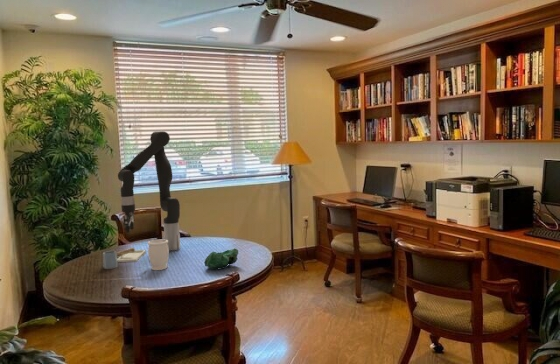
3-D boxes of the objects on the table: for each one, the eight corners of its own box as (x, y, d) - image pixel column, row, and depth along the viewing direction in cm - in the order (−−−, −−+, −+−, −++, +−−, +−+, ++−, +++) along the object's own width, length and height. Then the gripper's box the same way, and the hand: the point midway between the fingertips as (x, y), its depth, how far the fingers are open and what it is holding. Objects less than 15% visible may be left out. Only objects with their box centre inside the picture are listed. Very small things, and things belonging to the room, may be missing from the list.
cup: (118, 266, 238) (117, 250, 237) (115, 269, 232) (114, 253, 231) (106, 266, 238) (105, 251, 237) (102, 270, 231) (101, 254, 230)
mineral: (226, 261, 243) (226, 244, 243) (244, 266, 232) (243, 248, 231) (199, 268, 231) (198, 250, 230) (216, 274, 219) (216, 255, 218)
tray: (145, 253, 266) (145, 249, 266) (136, 262, 245) (136, 259, 244) (126, 253, 265) (126, 250, 265) (116, 263, 244) (115, 260, 244)
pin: (134, 247, 256) (107, 248, 255) (133, 247, 253) (105, 249, 252) (135, 256, 256) (107, 258, 255) (134, 257, 254) (106, 259, 253)
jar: (151, 272, 226) (149, 244, 224) (147, 267, 235) (146, 240, 233) (171, 269, 231) (170, 241, 229) (167, 264, 240) (165, 238, 238)
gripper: (131, 205, 245) (133, 233, 247) (137, 201, 259) (139, 227, 261) (117, 206, 244) (120, 233, 246) (124, 202, 258) (126, 228, 260)
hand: (130, 230), depth 253 cm, fingers open, 8 cm apart
